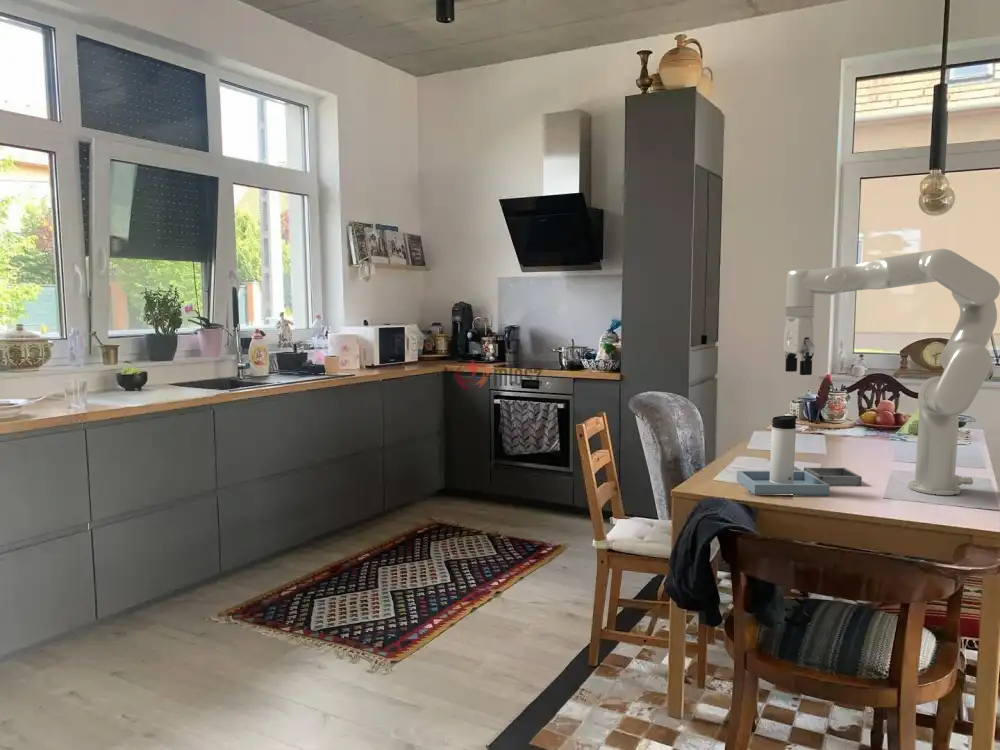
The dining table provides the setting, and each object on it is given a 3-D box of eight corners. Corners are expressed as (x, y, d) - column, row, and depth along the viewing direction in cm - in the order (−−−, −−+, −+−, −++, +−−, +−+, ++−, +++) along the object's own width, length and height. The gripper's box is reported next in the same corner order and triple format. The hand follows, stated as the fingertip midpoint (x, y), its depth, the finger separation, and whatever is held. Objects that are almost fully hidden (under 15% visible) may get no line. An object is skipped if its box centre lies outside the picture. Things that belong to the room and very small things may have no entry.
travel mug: (796, 489, 205) (799, 417, 203) (771, 488, 206) (774, 416, 204) (792, 483, 211) (795, 414, 209) (767, 482, 212) (770, 413, 210)
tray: (805, 481, 216) (806, 471, 216) (829, 496, 200) (829, 485, 200) (736, 480, 217) (736, 470, 216) (754, 495, 201) (754, 484, 200)
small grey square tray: (843, 475, 223) (844, 467, 222) (861, 485, 212) (861, 476, 211) (803, 475, 223) (804, 467, 222) (818, 485, 212) (819, 476, 212)
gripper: (774, 312, 220) (773, 370, 222) (799, 314, 203) (798, 376, 205) (799, 312, 220) (798, 370, 222) (827, 313, 203) (825, 376, 205)
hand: (798, 373), depth 213 cm, fingers open, 9 cm apart
